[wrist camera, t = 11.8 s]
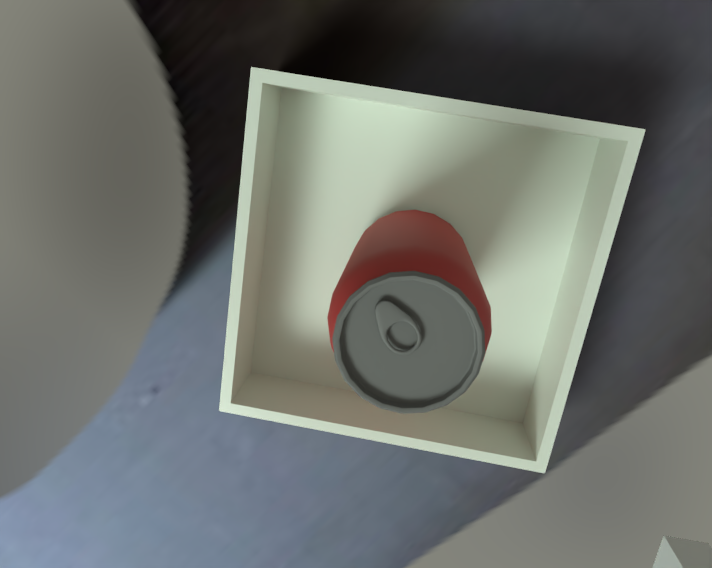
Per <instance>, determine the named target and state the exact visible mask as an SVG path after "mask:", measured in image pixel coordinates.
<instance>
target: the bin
mask: <svg viewBox="0 0 712 568" xmlns="http://www.w3.org/2000/svg"><path fill="white" fill-rule="evenodd" d="M645 130H646V129H640V128H634V127H627V126H621V125H615V124H608V123H602V122H596V121H589V120H583V119H577V118H570V117H564V116H558V115H552V114H545V113H539V112H533V111H526V110H520V109H514V108H507V107H501V106H495V105H488V104H482V103H476V102H469V101H463V100H457V99H450V98H444V97H438V96H431V95H425V94H419V93H412V92H406V91H400V90H393V89H387V88H381V87H374V86H368V85H362V84H355V83H349V82H343V81H336V80H330V79H324V78H317V77H311V76H305V75H298V74H292V73H286V72H279V71H273V70H267V69H260V68H254V67H251V73H250V84H249V95H248V105H247V116H246V127H245V138H244V148H243V159H242V170H241V181H240V191H239V202H238V213H237V224H236V234H235V245H234V256H233V267H232V277H231V288H230V299H229V310H228V320H227V331H226V342H225V353H224V363H223V374H222V385H221V396H220V407H219V411H222V412H228V413H233V414H238V415H243V416H248V417H254V418H259V419H264V420H269V421H274V422H280V423H285V424H290V425H295V426H301V427H306V428H311V429H316V430H321V431H327V432H332V433H337V434H342V435H347V436H353V437H358V438H363V439H368V440H374V441H379V442H384V443H389V444H394V445H400V446H405V447H410V448H415V449H420V450H426V451H431V452H436V453H441V454H447V455H452V456H457V457H462V458H467V459H473V460H478V461H483V462H488V463H493V464H499V465H504V466H509V467H514V468H520V469H525V470H530V471H535V472H540V473H545V471H546V468H547V464H548V461H549V457H550V454H551V451H552V447H553V444H554V440H555V437H556V433H557V430H558V427H559V423H560V420H561V416H562V413H563V410H564V406H565V403H566V399H567V396H568V393H569V389H570V386H571V382H572V379H573V376H574V372H575V369H576V365H577V362H578V358H579V355H580V352H581V348H582V345H583V341H584V338H585V335H586V331H587V328H588V324H589V321H590V318H591V314H592V311H593V307H594V304H595V300H596V297H597V294H598V290H599V287H600V283H601V280H602V277H603V273H604V270H605V266H606V263H607V260H608V256H609V253H610V249H611V246H612V243H613V239H614V236H615V232H616V229H617V225H618V222H619V219H620V215H621V212H622V208H623V205H624V202H625V198H626V195H627V191H628V188H629V185H630V181H631V178H632V174H633V171H634V167H635V164H636V161H637V157H638V154H639V150H640V147H641V144H642V140H643V137H644V133H645ZM405 210H419V211H423V212H428V213H432V214H435V215H437V216H438V217H440V218H442V219H443V220H445V221H447V222H448V223H450V224H451V225H452V226H453V228H454V229H455V230H456V231H457V232H458V233H459V235H460V236H461V237H462V238H463V241H464V243H465V245H466V248H467V250H468V253H469V255H470V257H471V260H472V262H473V265H474V267H475V269H476V272H477V274H478V277H479V279H480V282H481V284H482V286H483V289H484V292H485V294H486V297H487V299H488V302H489V304H490V307H491V325H492V333H491V337H490V341H489V344H488V347H487V350H486V354H485V357H484V360H483V362H482V365H481V368H480V371H479V374H478V376H477V377H476V378H475V380H474V381H473V382H472V384H471V385H470V387H469V388H468V389H467V391H466V392H465V393H463V394H462V395H461V396H459V397H458V398H456V399H455V400H454V401H452V402H451V403H450V404H448V405H447V406H444V407H441V408H438V409H435V410H432V411H429V412H426V413H407V414H401V413H397V412H393V411H389V410H385V409H381V408H378V407H376V406H375V405H373V404H371V403H370V402H368V401H366V400H364V399H363V398H361V397H359V396H358V394H357V393H356V392H355V391H354V390H353V389H352V388H351V387H350V386H349V385H348V384H347V383H346V382H345V381H344V379H343V377H342V374H341V372H340V370H339V368H338V366H337V364H336V362H335V358H334V352H333V350H332V348H331V343H330V336H329V328H328V319H327V317H328V312H329V308H330V303H331V298H332V294H333V292H334V290H335V288H336V286H337V283H338V281H339V279H340V277H341V275H342V273H343V271H344V269H345V267H346V265H347V263H348V261H349V258H350V256H351V254H352V252H353V250H354V248H355V246H356V244H357V243H358V241H359V239H360V238H361V236H362V234H363V233H364V231H365V230H366V229H367V228H368V227H370V226H371V225H372V224H373V223H374V222H375V221H377V220H378V219H379V218H381V217H384V216H386V215H389V214H391V213H393V212H396V211H405Z"/></svg>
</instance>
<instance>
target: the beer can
mask: <svg viewBox="0 0 712 568" xmlns="http://www.w3.org/2000/svg"><path fill="white" fill-rule="evenodd" d="M327 319H328V328H329V336H330V343H331V348H332V350H333V352H334V358H335V362H336V364H337V366H338V368H339V370H340V372H341V374H342V377H343V379H344V381H345V382H346V383H347V384H348V385H349V386H350V387H351V388H352V389H353V390H354V391H355V392H356V393H357V394H358V396H359V397H361V398H363V399H364V400H366V401H368V402H370V403H371V404H373V405H375V406H376V407H378V408H381V409H385V410H389V411H393V412H397V413H401V414H407V413H426V412H429V411H432V410H435V409H438V408H441V407H444V406H447V405H448V404H450V403H451V402H452V401H454V400H455V399H456V398H458V397H459V396H461V395H462V394H463V393H465V392H466V391H467V389H468V388H469V387H470V385H471V384H472V382H473V381H474V380H475V378H476V377H477V376H478V374H479V371H480V368H481V365H482V362H483V360H484V357H485V354H486V350H487V347H488V344H489V341H490V337H491V333H492V325H491V307H490V304H489V302H488V299H487V297H486V294H485V292H484V289H483V286H482V284H481V282H480V279H479V277H478V274H477V272H476V269H475V267H474V265H473V262H472V260H471V257H470V255H469V253H468V250H467V248H466V245H465V243H464V241H463V238H462V237H461V236H460V235H459V233H458V232H457V231H456V230H455V229H454V228H453V226H452V225H451V224H450V223H448V222H447V221H445V220H443V219H442V218H440V217H438V216H437V215H435V214H432V213H428V212H423V211H419V210H405V211H396V212H393V213H391V214H389V215H386V216H384V217H381V218H379V219H378V220H377V221H375V222H374V223H373V224H372V225H371V226H370V227H368V228H367V229H366V230H365V231H364V233H363V234H362V236H361V238H360V239H359V241H358V243H357V244H356V246H355V248H354V250H353V252H352V254H351V256H350V258H349V261H348V263H347V265H346V267H345V269H344V271H343V273H342V275H341V277H340V279H339V281H338V283H337V286H336V288H335V290H334V292H333V294H332V298H331V303H330V308H329V312H328V317H327Z"/></svg>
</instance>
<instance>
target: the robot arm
mask: <svg viewBox="0 0 712 568" xmlns="http://www.w3.org/2000/svg"><path fill="white" fill-rule="evenodd" d="M653 568H712V548H711V546H710V545H709V544H708V543H704V542H698V541H692V540H687V539H681V538H675V537H669V536H664V537H663V539H662V542H661V545H660V548H659V551H658V554H657V557H656V559H655V562H654V565H653Z"/></svg>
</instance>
